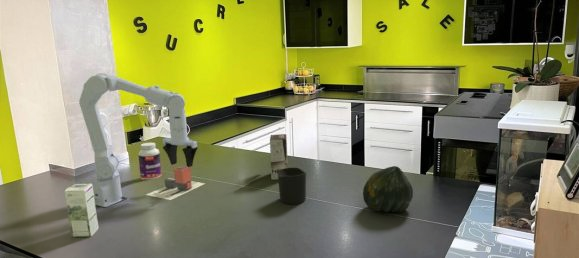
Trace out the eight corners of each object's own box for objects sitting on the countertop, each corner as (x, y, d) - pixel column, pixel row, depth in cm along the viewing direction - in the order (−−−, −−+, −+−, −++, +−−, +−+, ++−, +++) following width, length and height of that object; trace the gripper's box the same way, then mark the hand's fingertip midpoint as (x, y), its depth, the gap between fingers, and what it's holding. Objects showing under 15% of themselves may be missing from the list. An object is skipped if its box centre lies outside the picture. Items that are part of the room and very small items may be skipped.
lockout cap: (183, 183, 153) (181, 169, 152) (175, 182, 155) (173, 168, 154) (191, 179, 156) (189, 166, 155) (183, 178, 158) (181, 164, 157)
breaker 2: (187, 191, 154) (186, 183, 153) (177, 189, 156) (176, 181, 155) (192, 188, 156) (192, 180, 156) (183, 186, 159) (182, 178, 158)
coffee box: (287, 179, 167) (286, 139, 163) (271, 180, 167) (269, 139, 163) (288, 172, 176) (286, 133, 172) (272, 172, 176) (270, 134, 172)
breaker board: (170, 203, 147) (170, 199, 146) (146, 197, 153) (145, 194, 152) (205, 186, 162) (205, 183, 162) (181, 182, 168) (181, 179, 168)
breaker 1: (173, 188, 157) (172, 180, 156) (165, 187, 159) (164, 179, 158) (179, 186, 160) (178, 178, 159) (171, 184, 162) (170, 176, 161)
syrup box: (99, 228, 129) (92, 182, 126) (91, 237, 123) (84, 189, 120) (80, 229, 129) (73, 183, 126) (71, 238, 123) (63, 190, 120)
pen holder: (309, 195, 149) (308, 168, 147) (303, 206, 140) (302, 176, 138) (283, 194, 152) (282, 166, 150) (275, 204, 143) (274, 175, 141)
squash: (351, 186, 141) (368, 160, 130) (390, 181, 147) (410, 156, 135) (367, 225, 134) (387, 202, 122) (407, 218, 139) (430, 196, 127)
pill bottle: (146, 183, 168) (143, 147, 165) (137, 179, 173) (133, 144, 170) (165, 178, 173) (162, 143, 170) (155, 174, 179) (152, 140, 176)
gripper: (201, 127, 151) (204, 164, 154) (171, 124, 158) (174, 159, 161) (188, 131, 145) (191, 170, 148) (157, 128, 152) (160, 165, 155)
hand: (181, 165), depth 154 cm, fingers open, 7 cm apart
